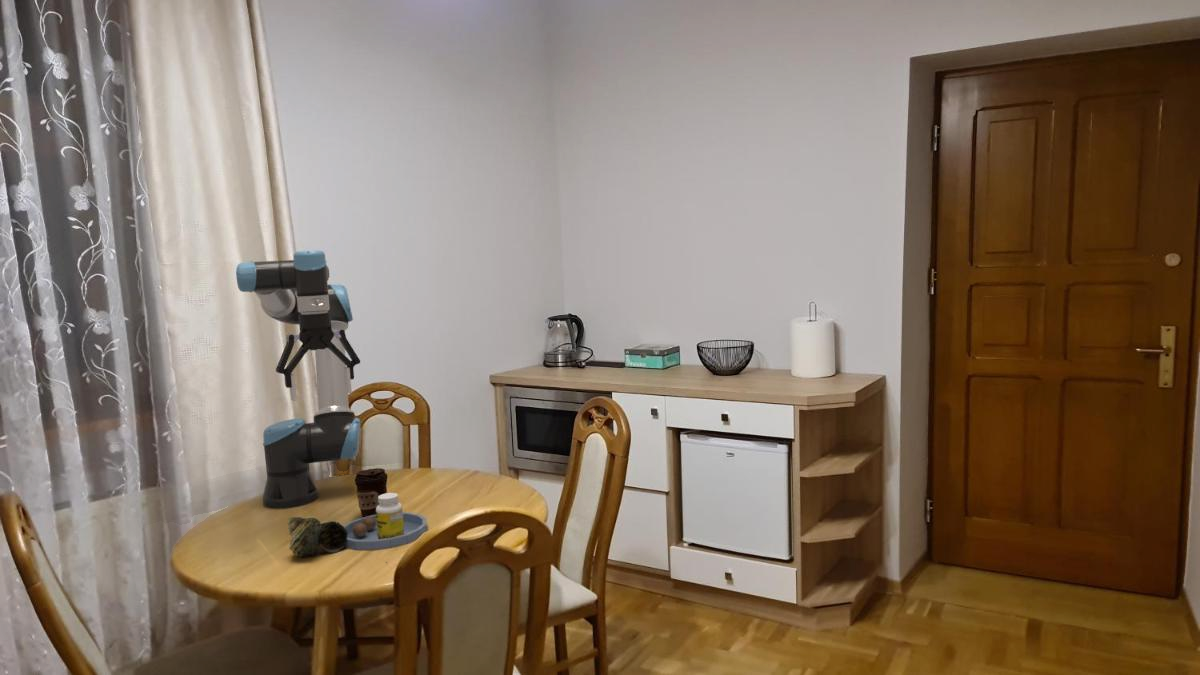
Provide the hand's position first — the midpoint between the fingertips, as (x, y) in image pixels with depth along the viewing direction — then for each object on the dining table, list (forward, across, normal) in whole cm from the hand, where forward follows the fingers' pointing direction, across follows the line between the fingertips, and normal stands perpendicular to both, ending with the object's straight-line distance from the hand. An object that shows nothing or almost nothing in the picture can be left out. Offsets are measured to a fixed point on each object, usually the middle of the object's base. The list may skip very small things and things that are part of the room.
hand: (321, 396), depth 201 cm
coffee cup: (+35, +11, +1) cm, 37 cm away
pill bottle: (+34, +8, -20) cm, 41 cm away
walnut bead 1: (+34, +3, -13) cm, 36 cm away
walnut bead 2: (+34, +6, -10) cm, 36 cm away
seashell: (+35, -9, -17) cm, 40 cm away
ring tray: (+35, +8, -15) cm, 39 cm away
